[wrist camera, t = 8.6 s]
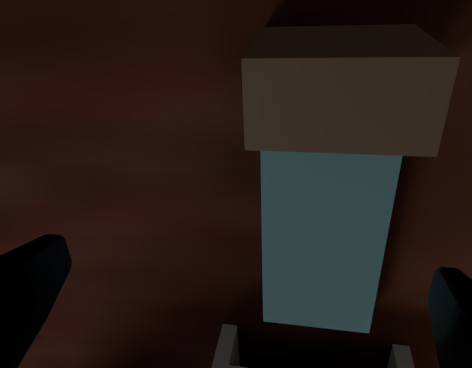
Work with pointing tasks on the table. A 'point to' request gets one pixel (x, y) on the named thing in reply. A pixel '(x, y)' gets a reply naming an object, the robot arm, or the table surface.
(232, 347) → the sleeve box
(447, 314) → the robot arm
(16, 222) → the table surface
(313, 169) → the cover plate
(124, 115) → the table surface
